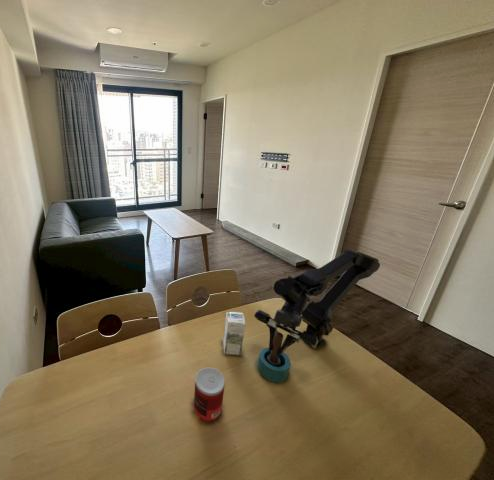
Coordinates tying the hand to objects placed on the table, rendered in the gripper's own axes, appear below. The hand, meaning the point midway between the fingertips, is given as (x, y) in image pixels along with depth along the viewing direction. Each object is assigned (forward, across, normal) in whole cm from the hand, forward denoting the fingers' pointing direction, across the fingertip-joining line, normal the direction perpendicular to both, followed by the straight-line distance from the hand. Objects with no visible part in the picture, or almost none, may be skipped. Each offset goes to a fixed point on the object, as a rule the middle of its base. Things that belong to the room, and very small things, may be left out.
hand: (273, 353), depth 78 cm
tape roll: (+5, 0, +7) cm, 9 cm away
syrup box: (+6, -14, +6) cm, 17 cm away
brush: (+4, 0, +6) cm, 7 cm away
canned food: (+22, -8, -10) cm, 26 cm away
